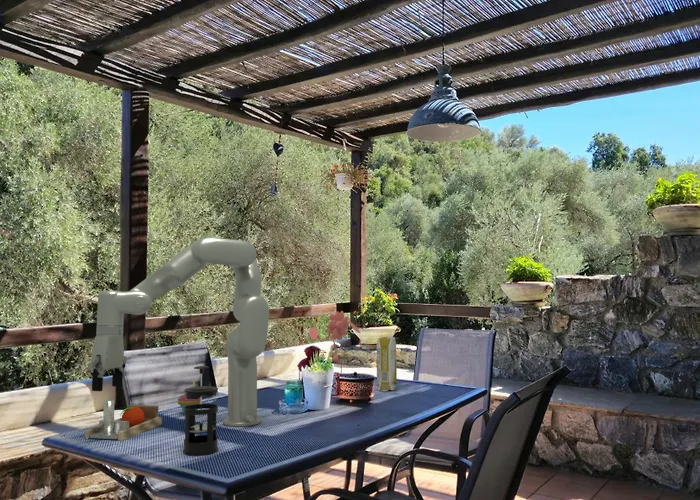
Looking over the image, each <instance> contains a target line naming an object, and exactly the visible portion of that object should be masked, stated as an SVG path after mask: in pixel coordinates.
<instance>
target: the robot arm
mask: <svg viewBox="0 0 700 500" xmlns="http://www.w3.org/2000/svg"><path fill="white" fill-rule="evenodd" d="M256 258H257V249H256V248H255V246H254V244H252V243H251V242H250V241H247V240H242V239H241V240H239V239H233V238H232V239H231V238H220V237H212V236H210V237H209V236H208V237H202V238H200V239H197V240H196V241H195V240H194V242H192V243H191V244H190V245H188V246H187V247H186V248H185V249H183V250H182V251H181V252H179V253H178V254H177V255H175V256H174V257H172V258H171V259H170V260H169V261H167V262H166V263H164V264H163V265H162V266H161V267H159V268H158V269H157V270H156V271H154V272H153V273H152V274H150V275H149V276H147V277H146V278H145V279H144V280H142V281H141V282H140V283H138V284H137V285H136V286H134V287H133V288H131V289H130V290H129V291H121V290H101V291H99V292H98V295H97V311H96V313H97V314H96V332H95V333H96V334H95V335H96V336H95V337H94V340H93V344H92V350H91V360H90V362H88V364H87V365H88V369H89V373H90V377H91V391H92V392H102V391H103V387H104V386H103V385H104V377H103V375H104V373H105V371H110V370H112V371H113V372H112V376H111V377H112V381H111V384H112V385H111V386H112V387H121V388H122V387H123V378H124V372H125V368H126V364H127V361H128V358H127V356H125V348H124V345H125V344H124V320H125V316H124V315H125V314H129V315H134V316H135V315H136V316H139V315H144V314H146V313H148V312H149V311H150V309H151V308H152V305H153V303H154V302H155V301H156V300H157V299H159V298H161V297H162V296H163V295H165V294H167V293H168V292H170V291H173V290H176V289H177V288H178V287H179V288H180V286H182V285H183V284H186V282H188V281H189V280H190V279H192V277H194V276H195V275H197V274H198V273H199V272H200V271H201V270H203V269H204V268H205V267H207V266H208V265H209V264H212V265H221V266H229V267H230V269H232V270H233V273H234V276H235V290H234V299H233V307H232V308H233V309H232V313H233V315H234V318H235V319H236V320H237V321H239V326H237V327H235V328H234V329H232V330H230V332H229V333H228V335H227V338H226V354H227V363H228V364H227V370H228V372H227V374H228V377H227V417H225V418H224V419H223V420H222V423H223V425H224V426H231V427H247V426H254V425H258V424H260V423H262V419H263V418H262V417H261V416H259V415H258V363H257V362H258V361H257V360H258V359H257V357H259V356H260V355H261V354H262V353H263V351H264V350H265V348H266V345H267V341H268V340H267V339H268V331H269V322H270V320H269V319H270V307H269V304H268V302H267V300H266V299H265V298H264V297H263V296H261V293H262V273H261V269H260V266H259V265H258V263H257V261H256Z"/></svg>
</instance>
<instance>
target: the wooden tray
mask: <svg viewBox="0 0 700 500" xmlns="http://www.w3.org/2000/svg"><path fill="white" fill-rule="evenodd" d="M133 406H134V407H139V408H140V409H141V410H142V411H143V413H144V421H143V423H141V424H138V425H136V426H133V427H130V428H128V429H125V430H123V431H120V432H118V439H117V441H118V442H123V441H125V440H128V439H130V438H132V437H134V436H138V435H139V434H140V435H141V434H142V433H144V432H147V431H150V430H153V429H154V428H157V427H159V426H161V425H162V419H163V417H162V416H159V405H143V404H142V405H141V404H138V405H137V404H130V405H128V406H127V407H126V408H129V407H133ZM114 421H122V417H119V418H117V419H114ZM149 429H150V430H149ZM98 431H99V425H98V426H93V427H92V428H89V429H86V430H84V438H85V437H87V438H89V437H90V434H92V433H95V432H98Z"/></svg>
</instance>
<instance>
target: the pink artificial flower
mask: <svg viewBox="0 0 700 500" xmlns="http://www.w3.org/2000/svg"><path fill="white" fill-rule="evenodd" d="M329 320H330V321H329V322H328V323H327V326H328V329H327V331H326V332H327V334H328V335H331V336H329V337H326V338H324V339H321V337H320V336H319V331H318V329H317V328H316V327H315V326H312V327H311V328H310V329H309V332H308V336H309V337H310V339H311V340H312V341H314V342H315V341H316V340H317V339H318V340H319V341H320V343H322V342H324V341H327V340H329V339H331V340H332V343H333V345H334V355H333V356H332V360H333V361H332V362H335V363H336V362H339V363H340V374H341V373H343V371H342V370H343V369H342V361H340V359H339V358H340V357H339V356H338V355H337V347H336V342H335V340H336V339H337V340H338V341H340V340H342V338H343V337H344V336H347V335H348V331H347V329H348V328H349V326H350V327H351V328H352V329H353V330H354V331H356V333H358V334H361V331H360V329H359V328H358V327H357V326H356V325H355V323H353V322H351V321H350V320H349V317H348V316H345V313H344V311H343V310H341V311H340V312H339V311H336V312H335V314H334V313H332V314H329Z"/></svg>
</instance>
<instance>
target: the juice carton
mask: <svg viewBox="0 0 700 500" xmlns="http://www.w3.org/2000/svg"><path fill="white" fill-rule="evenodd" d="M397 367H398V366H397V342H396V337H395V336H393V334H387V335H386V336H380V337H379V338H377V341H376V384H377V385H376V386H377V390H393V391H394V390H396V387H397V378H398V377H397V372H398V371H397Z"/></svg>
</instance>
